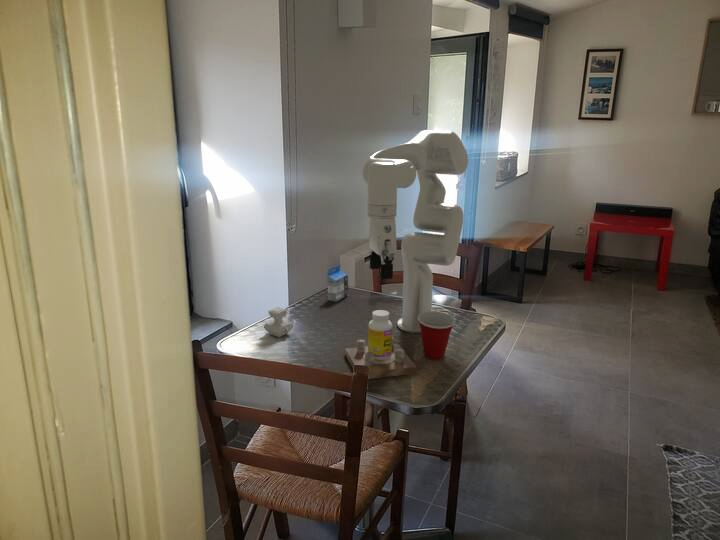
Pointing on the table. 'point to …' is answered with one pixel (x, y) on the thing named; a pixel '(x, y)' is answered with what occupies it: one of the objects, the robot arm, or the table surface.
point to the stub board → (381, 361)
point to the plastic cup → (435, 333)
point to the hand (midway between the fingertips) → (380, 273)
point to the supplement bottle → (380, 335)
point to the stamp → (278, 323)
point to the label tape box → (337, 284)
